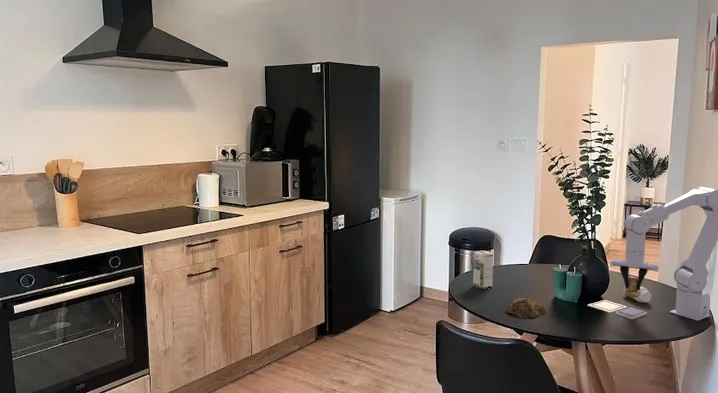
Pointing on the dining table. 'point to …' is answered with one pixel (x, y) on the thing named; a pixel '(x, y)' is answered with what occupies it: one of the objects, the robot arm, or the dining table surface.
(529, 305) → the brown speckled mound
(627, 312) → the ink pad
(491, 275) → the syrup box
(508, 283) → the dining table surface
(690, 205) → the robot arm
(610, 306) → the print sheet
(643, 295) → the supplement bottle
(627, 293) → the stamp
